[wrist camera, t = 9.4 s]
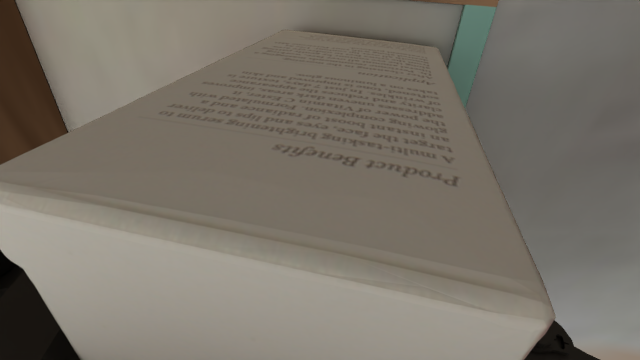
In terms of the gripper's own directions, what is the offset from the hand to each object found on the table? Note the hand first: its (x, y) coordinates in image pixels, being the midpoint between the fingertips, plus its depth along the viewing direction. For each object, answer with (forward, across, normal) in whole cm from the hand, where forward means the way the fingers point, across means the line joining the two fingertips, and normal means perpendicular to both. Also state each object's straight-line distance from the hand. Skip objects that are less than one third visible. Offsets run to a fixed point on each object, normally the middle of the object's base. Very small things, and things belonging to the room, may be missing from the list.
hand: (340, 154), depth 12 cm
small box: (+2, 0, 0) cm, 2 cm away
